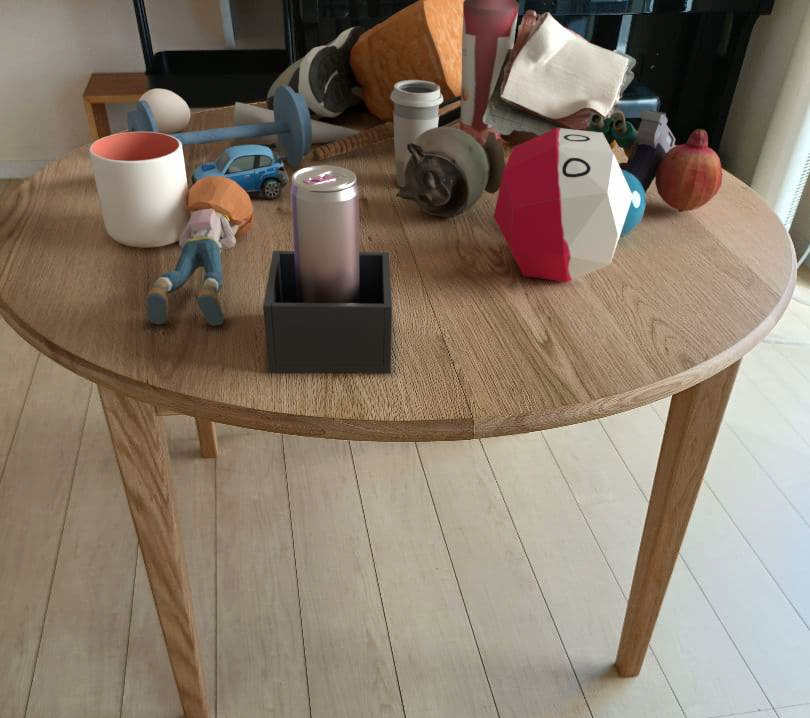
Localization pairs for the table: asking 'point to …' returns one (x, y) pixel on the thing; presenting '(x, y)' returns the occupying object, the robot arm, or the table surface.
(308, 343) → the trash bin
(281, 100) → the dumbbell
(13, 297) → the table surface
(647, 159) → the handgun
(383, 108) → the bread
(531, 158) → the decorative object
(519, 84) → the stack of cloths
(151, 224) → the cup
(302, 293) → the beverage can
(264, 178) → the toy car
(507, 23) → the liquor
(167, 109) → the egg
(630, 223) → the ball
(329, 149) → the throwing knife
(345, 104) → the running shoe
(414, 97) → the cup
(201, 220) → the figurine
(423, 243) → the table surface
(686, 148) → the fruit
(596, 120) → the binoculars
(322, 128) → the long tapered cone
